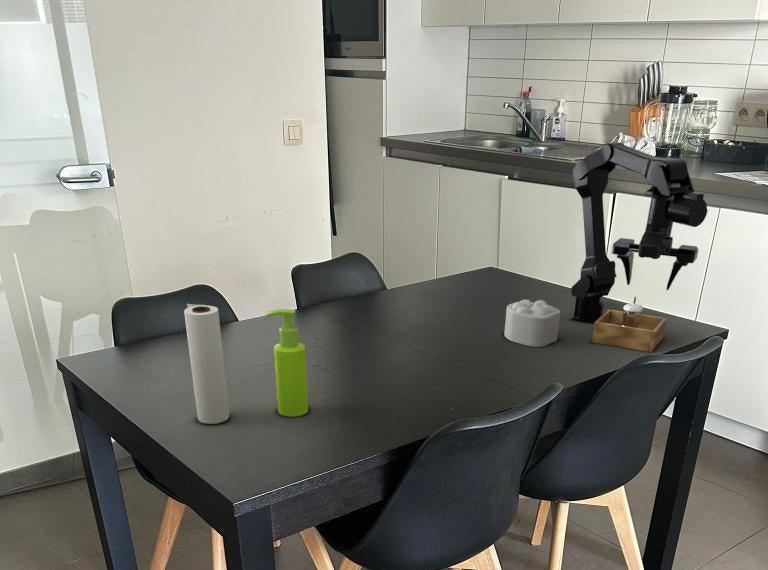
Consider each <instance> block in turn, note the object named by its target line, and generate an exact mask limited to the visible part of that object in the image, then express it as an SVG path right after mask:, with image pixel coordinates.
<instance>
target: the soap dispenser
mask: <svg viewBox="0 0 768 570" xmlns="http://www.w3.org/2000/svg"><path fill="white" fill-rule="evenodd" d="M265 316H266V317H267V318H269V317H275V316H282V319H283V326H281V327H280V328H279V343H277V344H275V345H274V346H273V354H274V368H275V370H274V371H275V383H276V396H277V398H276V399H277V400H276V401H277V412H278V414H279V415H281V416H284V417H290V418H291V417H293V418H294V417H301V416H303V415H305V414H307V413H308V412H309V401H308V398H309V397H308V380H307V377H308V376H307V358H306V357H307V354H306V345H305V344H304V343H301V342H299V330H298V327H297V326H295V325H294V321H293V320H294V319H293V317H296V309H287V308H285V309H284V308H278V309H272V310H268V311H266V312H265Z"/></svg>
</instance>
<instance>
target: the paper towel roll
mask: <svg viewBox="0 0 768 570" xmlns="http://www.w3.org/2000/svg"><path fill="white" fill-rule="evenodd" d="M186 305H187V307H186V308H185V309H183V314H184V322H185V329H186V330H185V331H186V335H187V345H188V353H189V359H190V367H191V376H192V383H193V391H194V398H195V406H196V408H195V409H196V414H197V415H196V416H197V420H198V421H199V422H200V423H202V424H208V425H214V424H221V423H224V422H226V421H227V420H228V419H230V409H229V400H228V399H229V398H228V391H227V390H228V389H227V380H226V370H225V361H224V351H223V342H222V331H221V325H220V324H221V323H220V313H219V308H218V307H217V306H214V305H208V304H191V303H186Z"/></svg>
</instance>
